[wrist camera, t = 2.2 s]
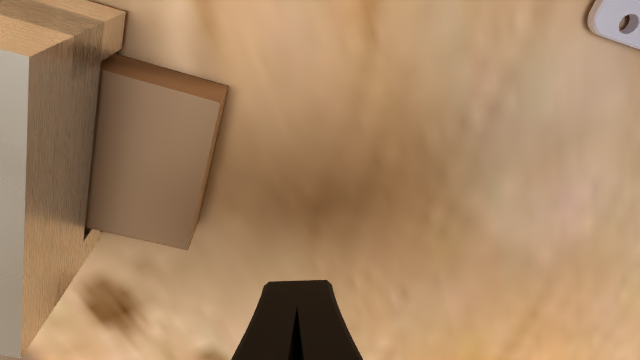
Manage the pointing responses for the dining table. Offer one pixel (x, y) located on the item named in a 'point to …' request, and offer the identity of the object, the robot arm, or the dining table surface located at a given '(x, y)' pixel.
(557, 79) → the dining table surface
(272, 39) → the dining table surface
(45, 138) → the keeper
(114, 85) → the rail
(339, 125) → the dining table surface
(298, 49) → the dining table surface
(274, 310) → the robot arm
